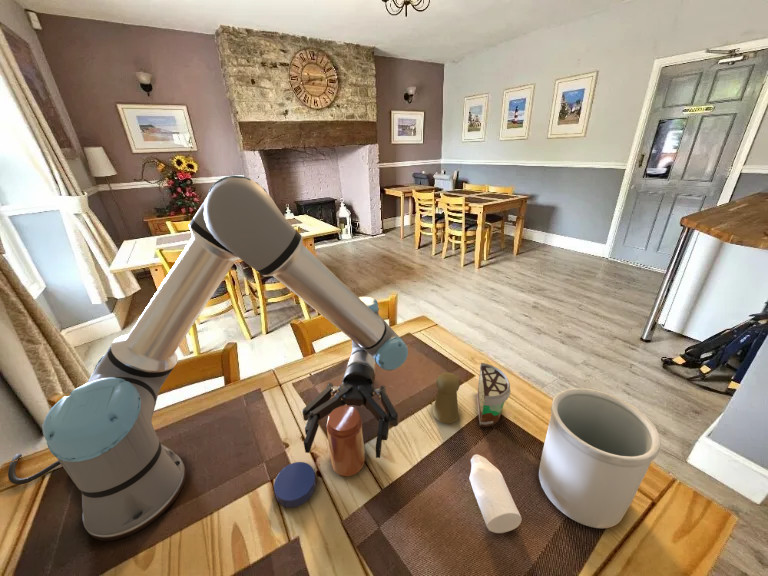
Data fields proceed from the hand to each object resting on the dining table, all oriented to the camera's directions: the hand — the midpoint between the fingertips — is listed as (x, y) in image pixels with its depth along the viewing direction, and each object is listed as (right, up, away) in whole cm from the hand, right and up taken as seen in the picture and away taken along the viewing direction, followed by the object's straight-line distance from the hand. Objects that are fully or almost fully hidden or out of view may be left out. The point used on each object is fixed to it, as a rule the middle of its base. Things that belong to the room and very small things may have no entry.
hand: (341, 450), depth 58 cm
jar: (+1, -5, +6) cm, 8 cm away
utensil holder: (+44, -7, 0) cm, 45 cm away
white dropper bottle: (+27, -8, -1) cm, 28 cm away
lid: (-9, -6, +1) cm, 11 cm away
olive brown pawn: (+23, 0, +17) cm, 28 cm away
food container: (+34, 0, +17) cm, 38 cm away
